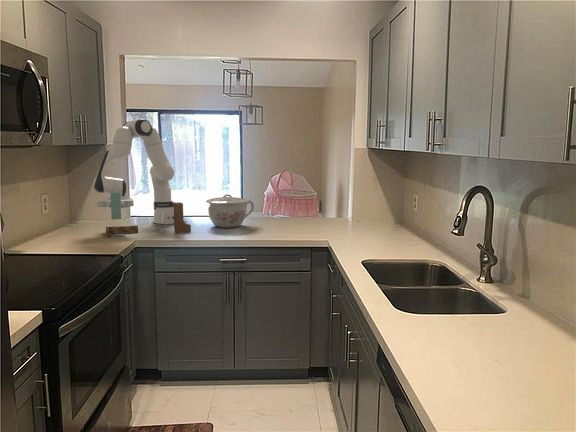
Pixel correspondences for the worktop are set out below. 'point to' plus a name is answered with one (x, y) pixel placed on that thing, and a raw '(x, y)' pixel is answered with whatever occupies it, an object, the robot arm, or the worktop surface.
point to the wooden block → (180, 219)
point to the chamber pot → (228, 211)
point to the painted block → (115, 205)
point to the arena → (121, 230)
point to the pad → (117, 235)
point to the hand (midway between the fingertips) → (115, 204)
